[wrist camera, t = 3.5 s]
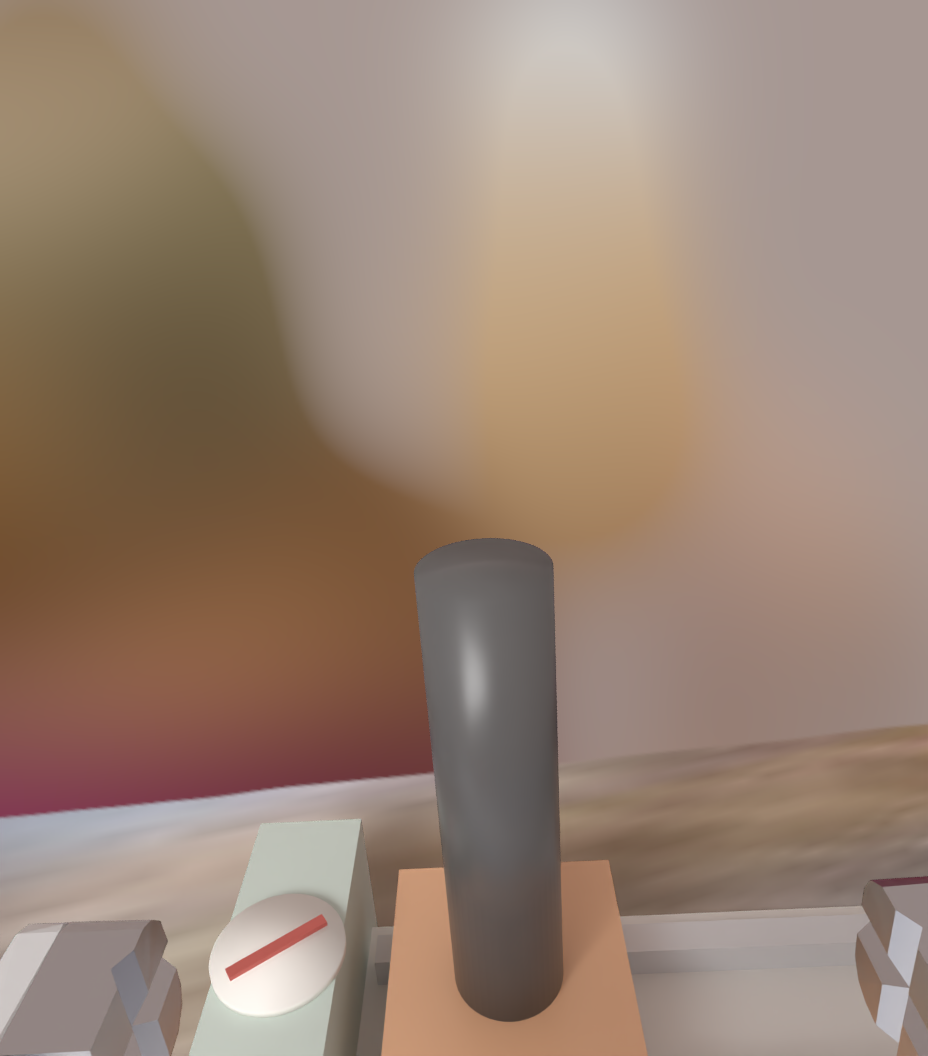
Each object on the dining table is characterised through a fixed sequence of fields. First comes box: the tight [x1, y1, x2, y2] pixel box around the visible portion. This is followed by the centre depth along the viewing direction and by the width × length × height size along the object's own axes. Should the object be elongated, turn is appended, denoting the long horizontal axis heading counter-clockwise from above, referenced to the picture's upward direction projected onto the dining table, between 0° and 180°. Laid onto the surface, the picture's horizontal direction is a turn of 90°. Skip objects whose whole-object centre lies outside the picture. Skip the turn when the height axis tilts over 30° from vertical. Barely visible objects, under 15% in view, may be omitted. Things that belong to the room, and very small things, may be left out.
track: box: [189, 819, 899, 1056], centre depth 28 cm, size 34×12×6 cm, turn 90°
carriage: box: [381, 538, 648, 1056], centre depth 25 cm, size 8×9×17 cm
